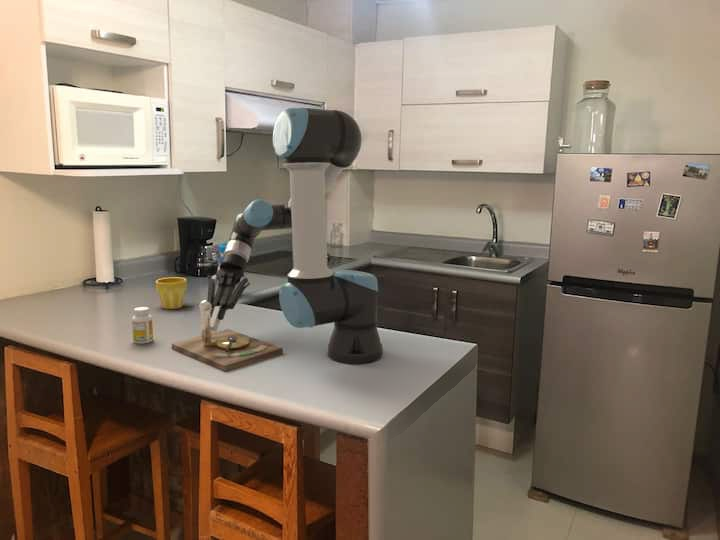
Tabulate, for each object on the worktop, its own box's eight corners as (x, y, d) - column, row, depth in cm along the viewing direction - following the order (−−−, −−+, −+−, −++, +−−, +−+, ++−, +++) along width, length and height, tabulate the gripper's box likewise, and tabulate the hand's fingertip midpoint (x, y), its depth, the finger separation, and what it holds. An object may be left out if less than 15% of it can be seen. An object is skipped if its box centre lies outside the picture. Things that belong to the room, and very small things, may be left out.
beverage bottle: (233, 300, 216) (231, 247, 212) (214, 298, 219) (212, 245, 215) (245, 295, 224) (244, 244, 220) (226, 293, 227) (224, 242, 223)
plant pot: (157, 304, 209) (155, 277, 207) (187, 302, 212) (186, 276, 210) (156, 311, 199) (155, 283, 197) (188, 309, 202) (187, 282, 201)
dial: (257, 342, 163) (256, 298, 161) (227, 356, 152) (225, 309, 149) (221, 335, 169) (219, 293, 166) (189, 348, 157) (187, 303, 155)
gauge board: (282, 353, 160) (282, 347, 159) (225, 371, 146) (224, 364, 145) (228, 333, 176) (228, 328, 176) (171, 348, 162) (171, 342, 162)
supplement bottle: (146, 336, 172) (144, 305, 170) (156, 340, 169) (155, 308, 167) (129, 341, 168) (127, 308, 166) (139, 345, 165) (137, 312, 163)
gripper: (259, 267, 177) (238, 336, 164) (219, 264, 179) (196, 333, 167) (252, 253, 170) (229, 324, 158) (211, 250, 173) (185, 320, 161)
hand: (212, 328), depth 162 cm, fingers closed
